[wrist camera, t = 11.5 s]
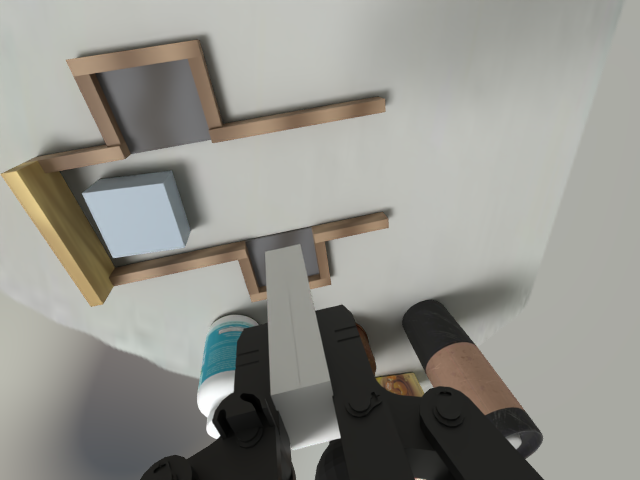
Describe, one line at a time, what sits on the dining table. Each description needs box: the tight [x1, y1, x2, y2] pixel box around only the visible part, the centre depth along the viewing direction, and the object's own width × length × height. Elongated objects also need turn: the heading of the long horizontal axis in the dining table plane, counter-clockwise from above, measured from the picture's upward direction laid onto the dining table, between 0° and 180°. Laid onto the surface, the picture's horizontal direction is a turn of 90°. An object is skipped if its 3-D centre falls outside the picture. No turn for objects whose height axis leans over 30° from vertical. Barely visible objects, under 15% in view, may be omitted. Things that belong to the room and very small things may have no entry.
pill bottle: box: [197, 315, 258, 439], centre depth 39 cm, size 8×7×14 cm
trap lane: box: [1, 40, 389, 307], centre depth 33 cm, size 33×28×5 cm
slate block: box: [82, 171, 191, 258], centre depth 33 cm, size 7×7×4 cm
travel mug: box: [402, 300, 543, 459], centre depth 42 cm, size 8×8×20 cm
